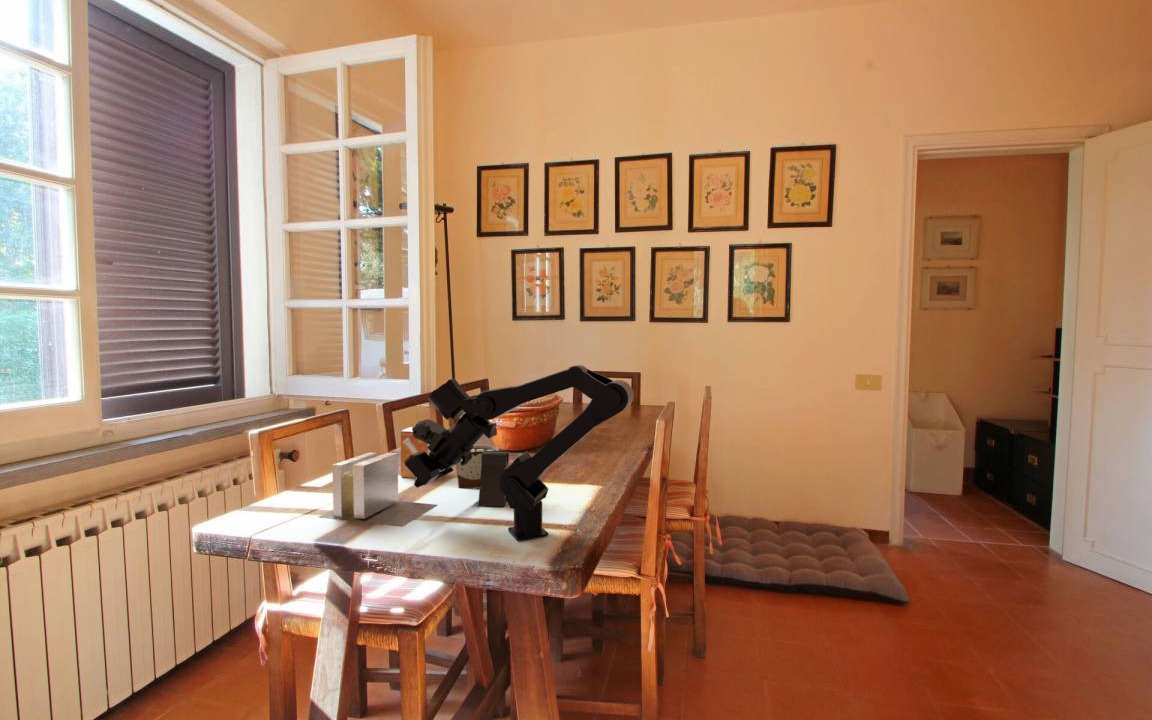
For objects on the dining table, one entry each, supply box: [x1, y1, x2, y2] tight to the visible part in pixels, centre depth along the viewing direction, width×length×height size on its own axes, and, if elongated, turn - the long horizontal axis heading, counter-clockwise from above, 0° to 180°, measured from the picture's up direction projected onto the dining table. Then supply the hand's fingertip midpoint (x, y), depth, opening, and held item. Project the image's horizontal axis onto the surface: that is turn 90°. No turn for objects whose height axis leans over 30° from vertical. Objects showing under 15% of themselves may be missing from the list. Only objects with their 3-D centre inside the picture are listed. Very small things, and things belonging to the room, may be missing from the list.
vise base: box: [318, 452, 438, 528], centre depth 117 cm, size 20×14×12 cm
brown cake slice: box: [455, 444, 500, 490], centre depth 142 cm, size 12×6×10 cm, turn 108°
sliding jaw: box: [353, 452, 399, 519], centre depth 117 cm, size 2×12×11 cm, turn 165°
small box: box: [400, 426, 431, 478], centre depth 151 cm, size 8×6×13 cm
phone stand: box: [478, 450, 510, 508], centre depth 129 cm, size 9×6×12 cm, turn 175°
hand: (416, 485), depth 114 cm, fingers closed
